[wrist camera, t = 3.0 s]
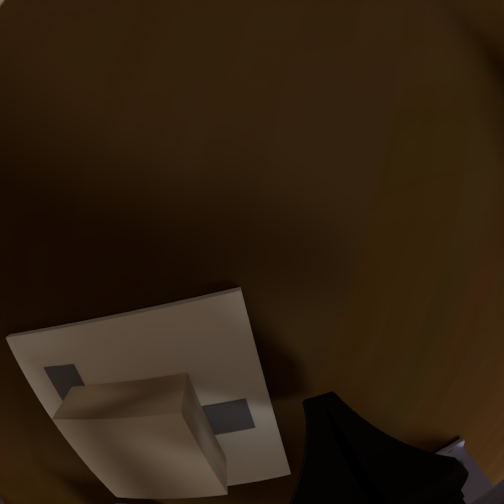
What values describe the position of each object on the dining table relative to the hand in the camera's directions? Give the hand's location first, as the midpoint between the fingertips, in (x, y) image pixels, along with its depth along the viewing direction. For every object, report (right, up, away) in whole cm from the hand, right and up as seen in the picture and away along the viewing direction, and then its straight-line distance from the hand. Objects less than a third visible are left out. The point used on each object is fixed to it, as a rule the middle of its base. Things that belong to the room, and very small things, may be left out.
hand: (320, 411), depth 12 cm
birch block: (-8, -2, +1) cm, 8 cm away
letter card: (-8, -2, +1) cm, 8 cm away
